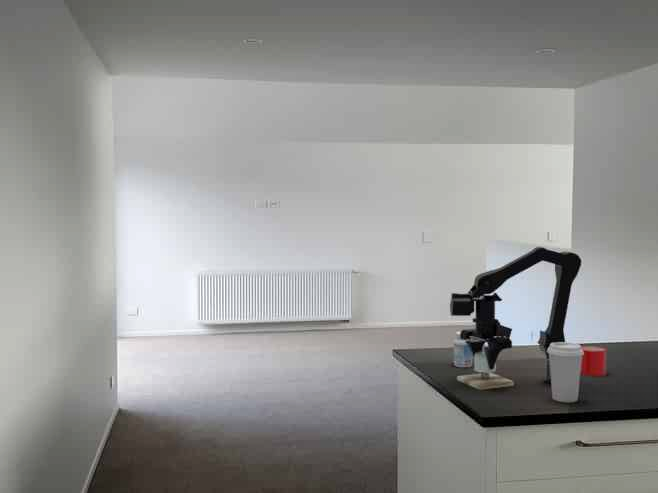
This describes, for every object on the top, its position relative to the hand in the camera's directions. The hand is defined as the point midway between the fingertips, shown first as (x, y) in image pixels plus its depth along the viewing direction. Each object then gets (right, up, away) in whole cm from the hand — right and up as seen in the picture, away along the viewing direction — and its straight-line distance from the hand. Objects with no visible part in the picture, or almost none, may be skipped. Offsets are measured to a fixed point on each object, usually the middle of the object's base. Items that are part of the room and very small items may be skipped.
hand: (485, 366), depth 196 cm
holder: (0, -5, 0) cm, 5 cm away
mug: (+35, -4, +12) cm, 37 cm away
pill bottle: (-2, -4, +22) cm, 22 cm away
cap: (0, -1, 0) cm, 1 cm away
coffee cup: (+18, -6, -17) cm, 26 cm away
